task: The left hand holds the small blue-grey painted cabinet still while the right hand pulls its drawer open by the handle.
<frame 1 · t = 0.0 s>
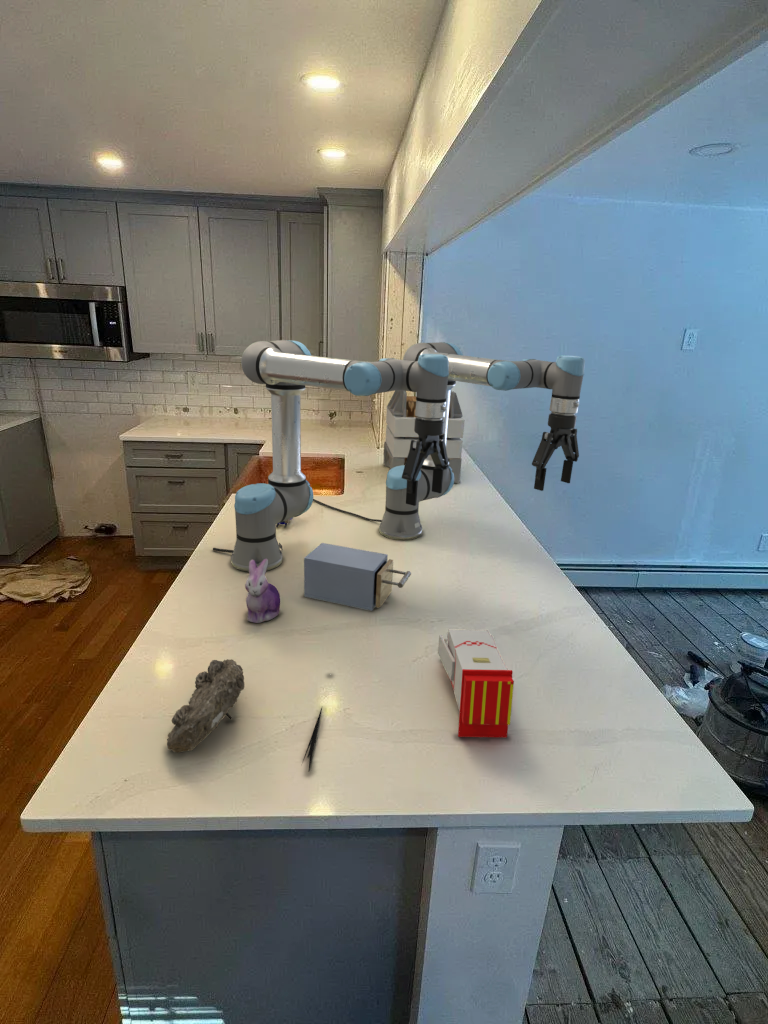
left hand: (424, 498, 150), 28 cm above the counter, tool pointing down, fingers open, 13 cm apart
right hand: (552, 485, 166), 28 cm above the counter, tool pointing down, fingers open, 13 cm apart
fossil: (212, 717, 108), on the counter
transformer: (419, 473, 275), on the counter
feather: (319, 719, 109), on the counter
cabinet: (345, 594, 156), on the counter
figurine character: (283, 522, 205), on the counter
toy: (469, 691, 119), on the counter
figurine: (263, 615, 144), on the counter
drawer: (364, 579, 153), point 6 cm above the counter, slide at 0.7 cm
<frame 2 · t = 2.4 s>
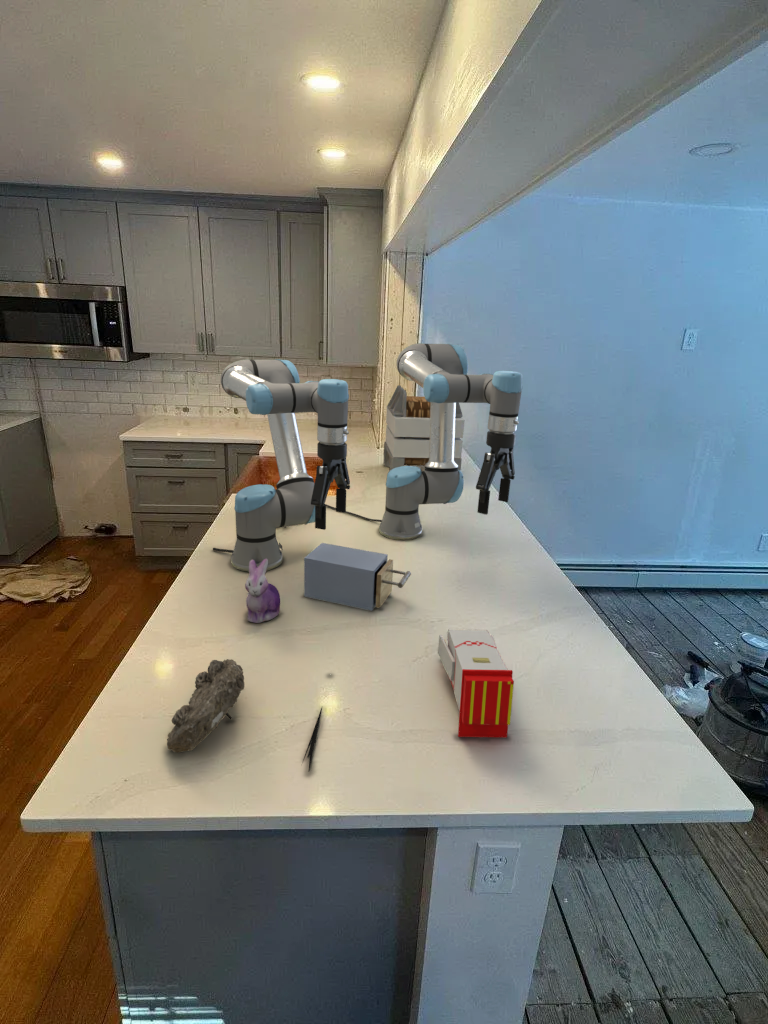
left hand: (331, 520, 151), 21 cm above the counter, tool pointing down, fingers open, 13 cm apart
right hand: (493, 507, 157), 24 cm above the counter, tool pointing down, fingers open, 13 cm apart
nothing on the counter moved.
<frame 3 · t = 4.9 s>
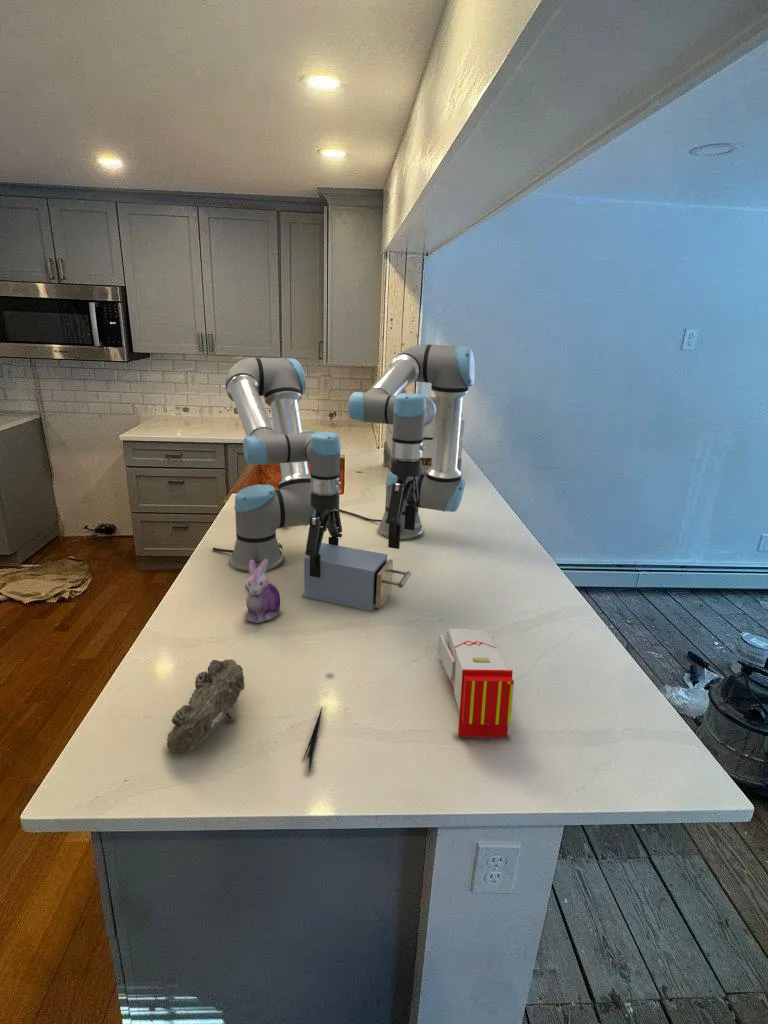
left hand: (324, 567, 156), 7 cm above the counter, tool pointing down, fingers closed on cabinet, 11 cm apart
right hand: (401, 538, 146), 19 cm above the counter, tool pointing down, fingers open, 13 cm apart
cabinet: (345, 594, 156), on the counter, touching left hand
everything else where it was.
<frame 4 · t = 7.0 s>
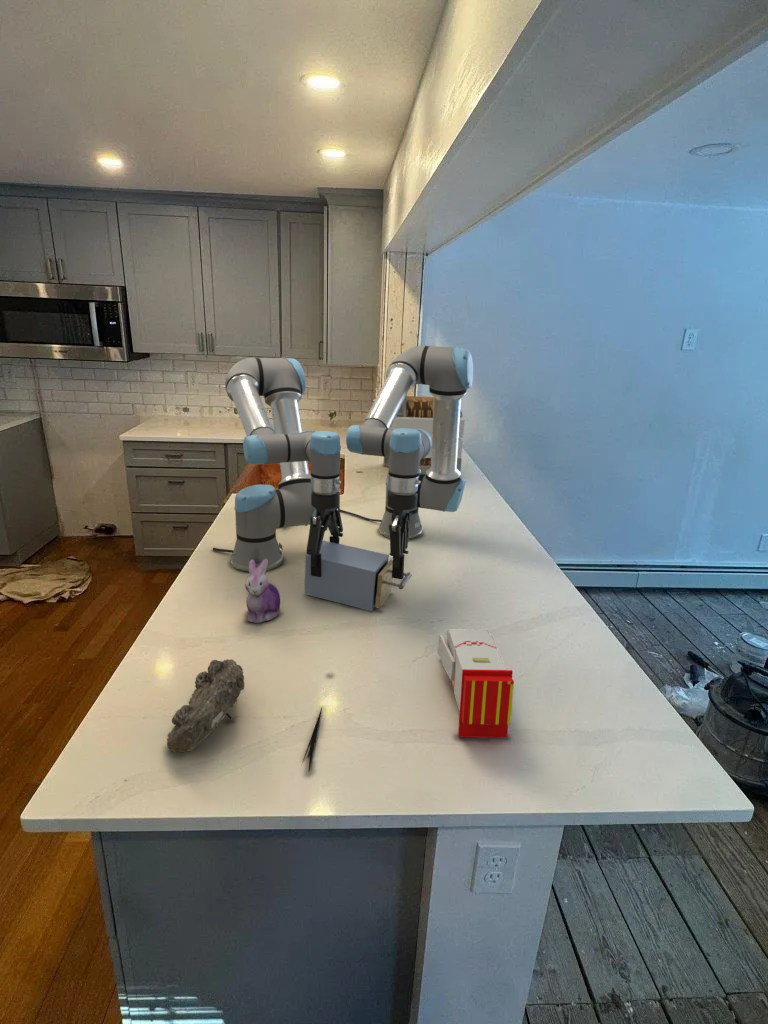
left hand: (325, 566, 156), 7 cm above the counter, tool pointing down, fingers closed on cabinet, 11 cm apart
right hand: (397, 577, 149), 8 cm above the counter, tool pointing down, fingers closed
cabinet: (345, 593, 156), on the counter, touching left hand
drawer: (364, 578, 153), point 6 cm above the counter, slide at 0.7 cm, touching right hand
everything else where it was.
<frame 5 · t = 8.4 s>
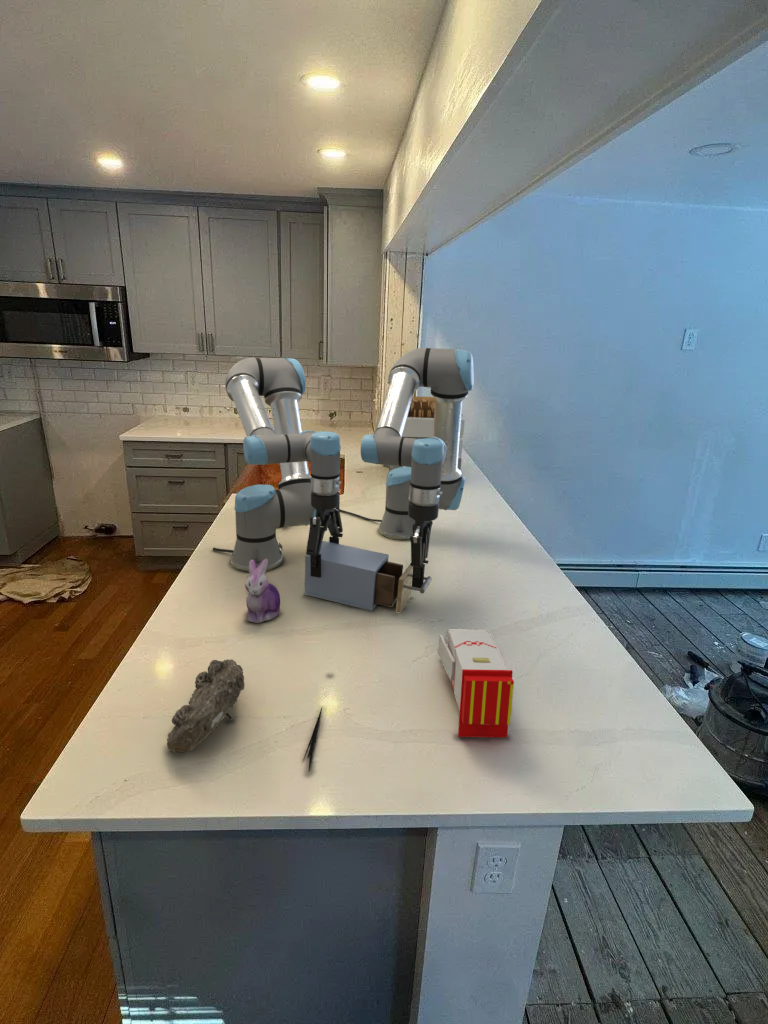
left hand: (325, 567, 156), 7 cm above the counter, tool pointing down, fingers closed on cabinet, 11 cm apart
right hand: (417, 586, 148), 6 cm above the counter, tool pointing down, fingers closed
cabinet: (345, 593, 156), on the counter, touching left hand
drawer: (384, 583, 151), point 6 cm above the counter, slide at 6.3 cm, touching right hand
everything else where it was.
when the left hand's fingers open (7 cm above the counter, at t = 10.1 s): cabinet stays where it is, on the counter.
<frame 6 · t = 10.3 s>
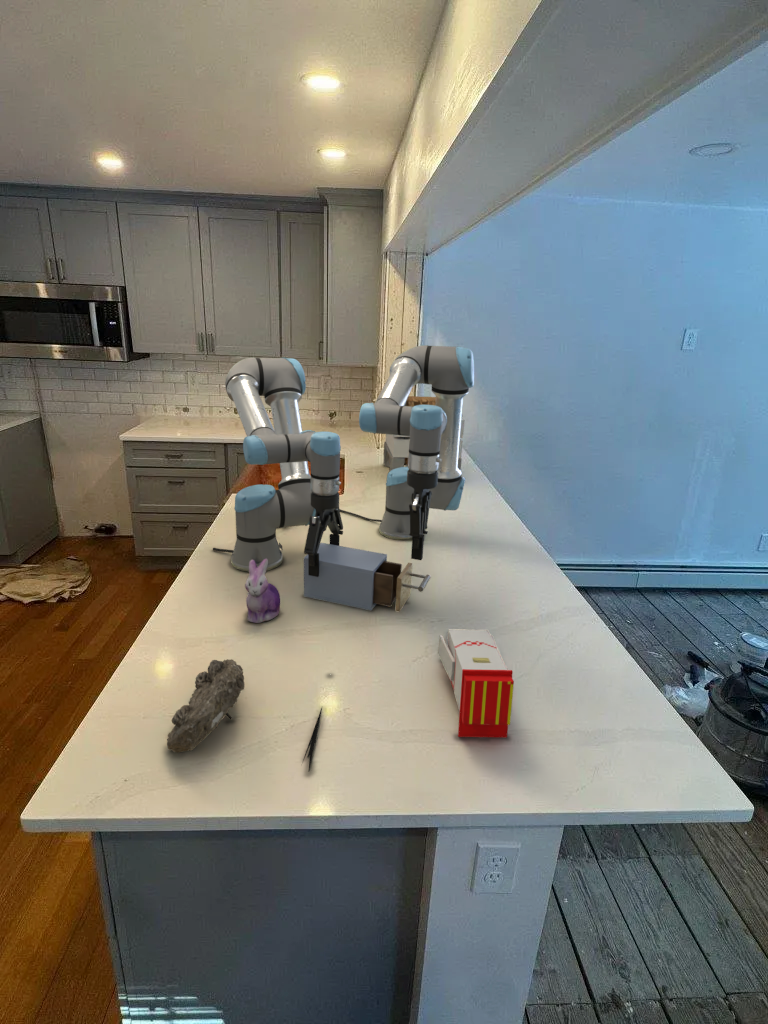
left hand: (324, 565, 156), 8 cm above the counter, tool pointing down, fingers open, 13 cm apart
right hand: (416, 558, 146), 15 cm above the counter, tool pointing down, fingers closed
cabinet: (345, 594, 156), on the counter
drawer: (383, 582, 151), point 6 cm above the counter, slide at 6.3 cm
everything else where it was.
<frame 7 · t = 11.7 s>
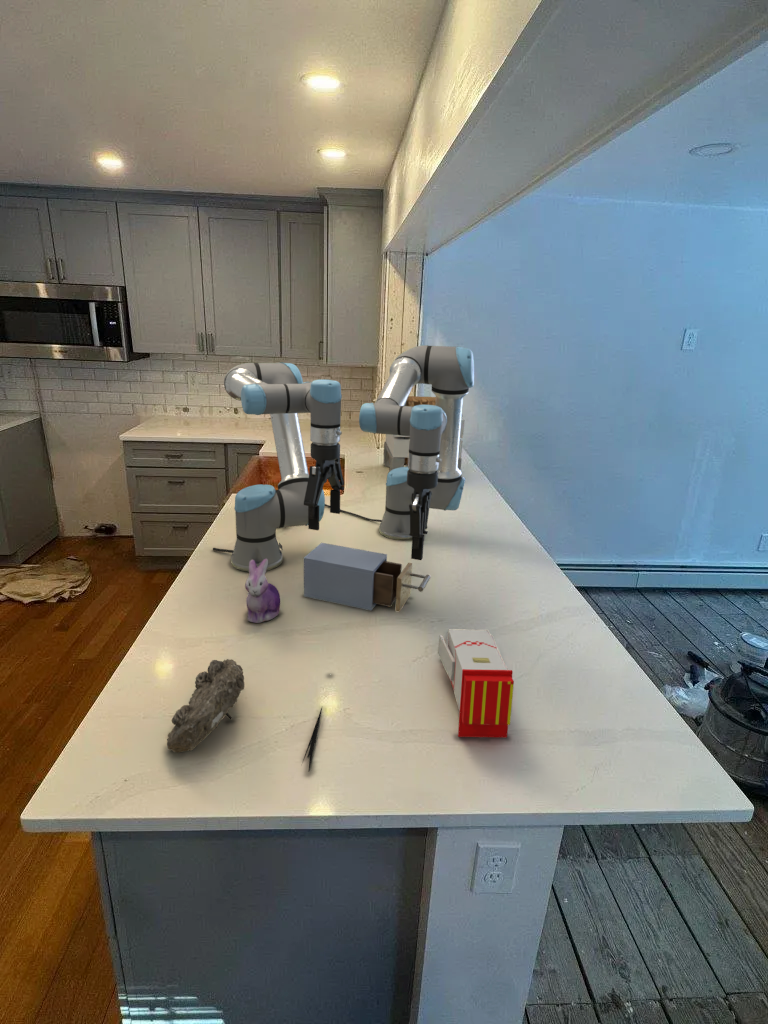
left hand: (324, 520, 151), 21 cm above the counter, tool pointing down, fingers open, 13 cm apart
right hand: (416, 558, 146), 15 cm above the counter, tool pointing down, fingers closed
nothing on the counter moved.
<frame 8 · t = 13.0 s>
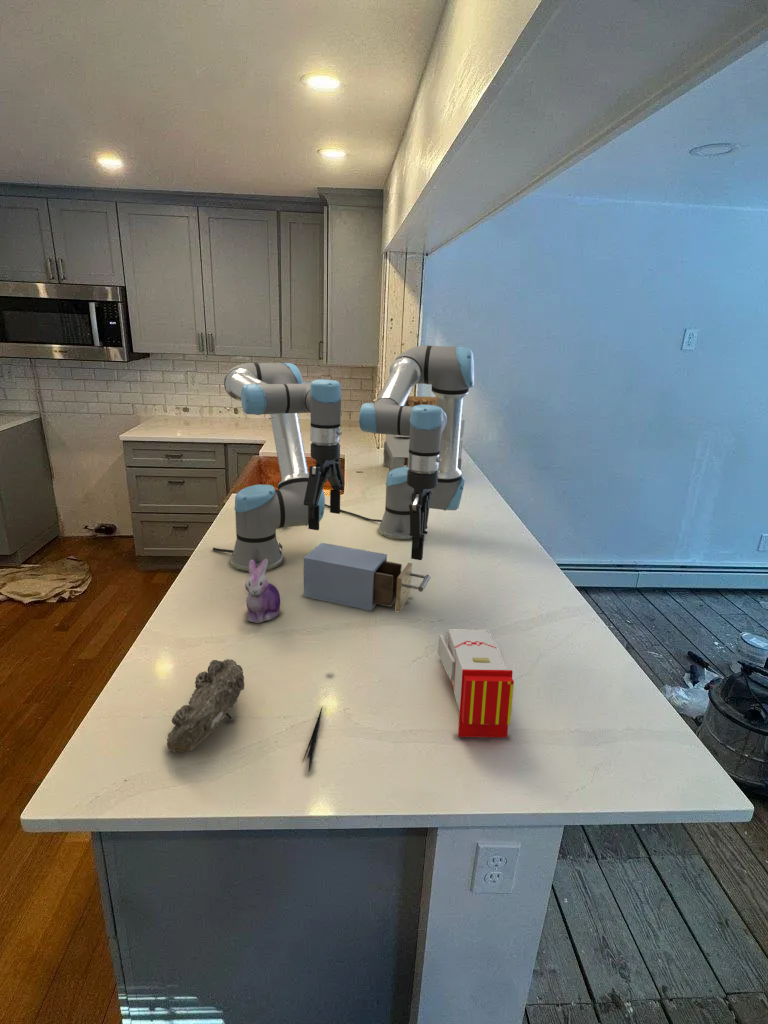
left hand: (324, 520, 151), 21 cm above the counter, tool pointing down, fingers open, 13 cm apart
right hand: (416, 558, 146), 15 cm above the counter, tool pointing down, fingers closed
nothing on the counter moved.
at the end: drawer slide at 6.3 cm; cabinet tilted 0°; cabinet never tilted more than 3° during the clip; cabinet moved 0.2 cm from its start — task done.
